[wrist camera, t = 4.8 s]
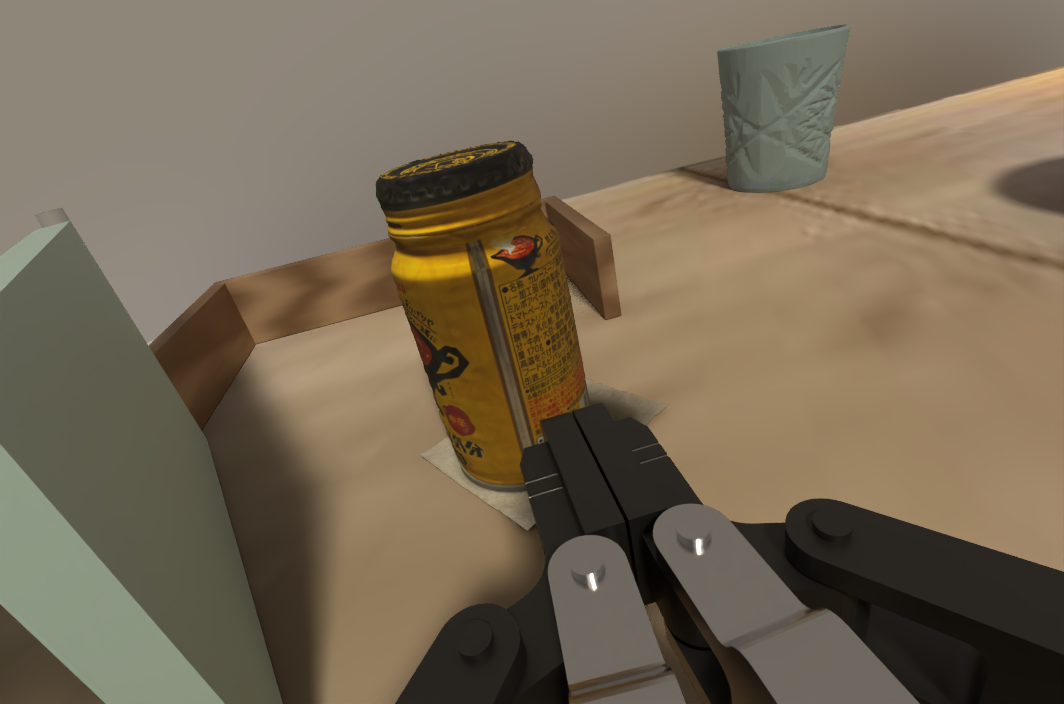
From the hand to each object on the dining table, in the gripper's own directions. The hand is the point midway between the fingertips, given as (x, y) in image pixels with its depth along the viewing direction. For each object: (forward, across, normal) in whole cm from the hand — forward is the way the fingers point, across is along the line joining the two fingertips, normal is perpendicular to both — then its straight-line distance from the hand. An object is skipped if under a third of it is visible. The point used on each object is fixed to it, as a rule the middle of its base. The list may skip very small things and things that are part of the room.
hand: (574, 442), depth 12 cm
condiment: (+9, 0, +6) cm, 11 cm away
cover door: (+7, +13, +6) cm, 17 cm away
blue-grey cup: (+37, -30, +6) cm, 48 cm away
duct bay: (+24, +6, +6) cm, 25 cm away
